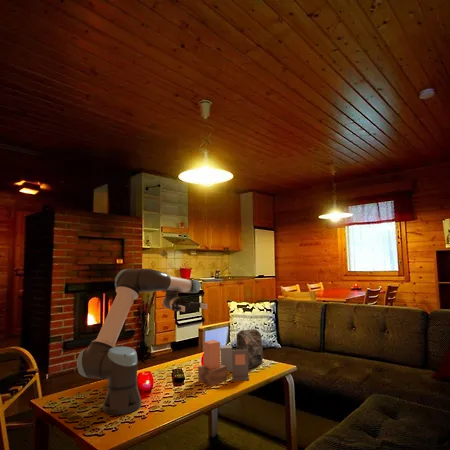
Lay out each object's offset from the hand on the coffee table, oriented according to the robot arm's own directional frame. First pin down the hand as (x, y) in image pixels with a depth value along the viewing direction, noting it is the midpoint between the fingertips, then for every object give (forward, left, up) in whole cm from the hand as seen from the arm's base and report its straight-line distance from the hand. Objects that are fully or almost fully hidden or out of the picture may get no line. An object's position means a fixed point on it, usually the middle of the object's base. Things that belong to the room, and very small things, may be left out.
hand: (195, 307), depth 185 cm
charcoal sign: (+22, -10, -34) cm, 42 cm away
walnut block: (+8, -10, -35) cm, 37 cm away
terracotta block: (+8, -10, -28) cm, 30 cm away
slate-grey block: (+16, +7, -34) cm, 39 cm away
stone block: (+30, +11, -35) cm, 47 cm away
